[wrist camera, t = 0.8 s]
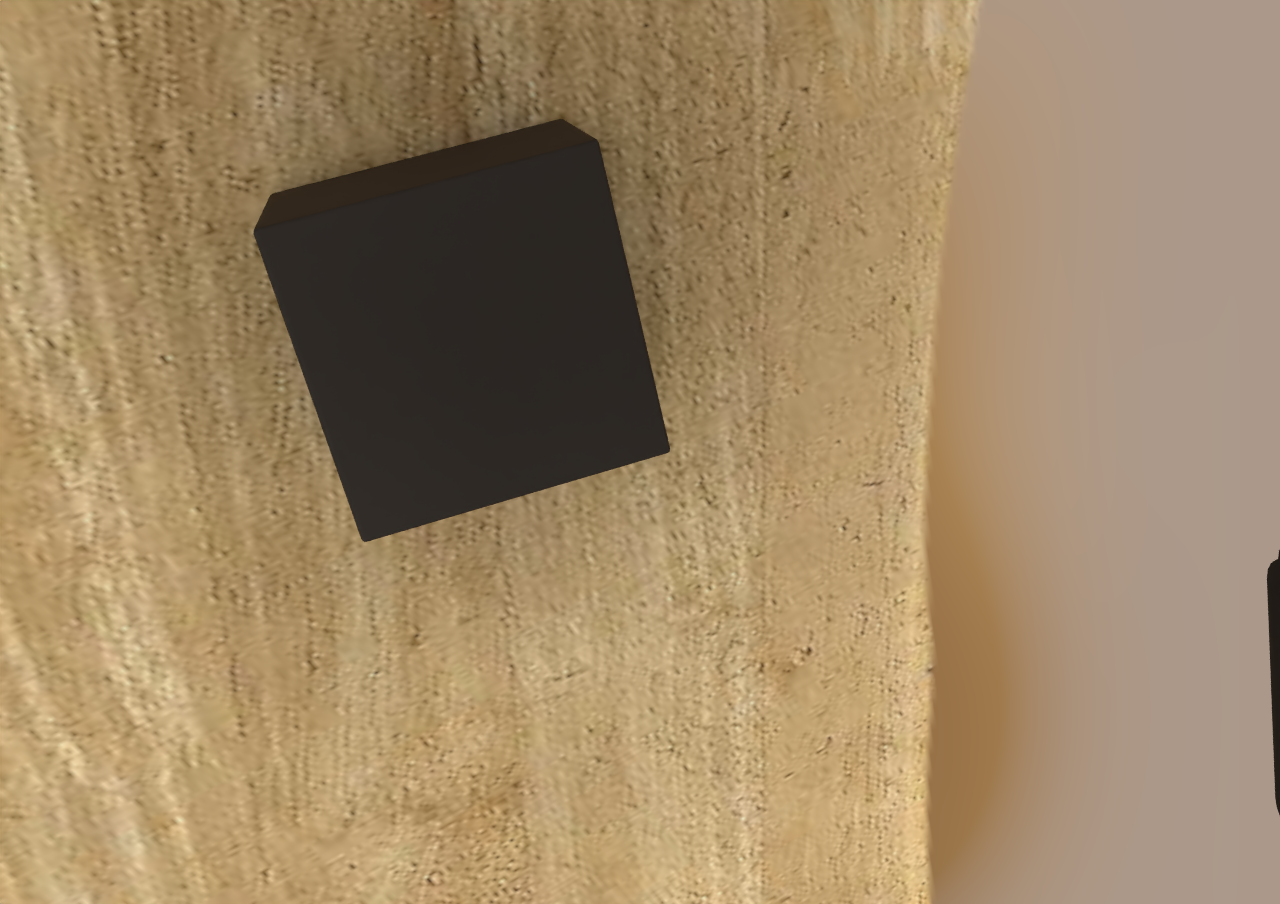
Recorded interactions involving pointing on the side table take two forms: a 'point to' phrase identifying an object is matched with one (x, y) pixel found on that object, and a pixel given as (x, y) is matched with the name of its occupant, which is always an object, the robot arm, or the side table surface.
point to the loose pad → (465, 325)
